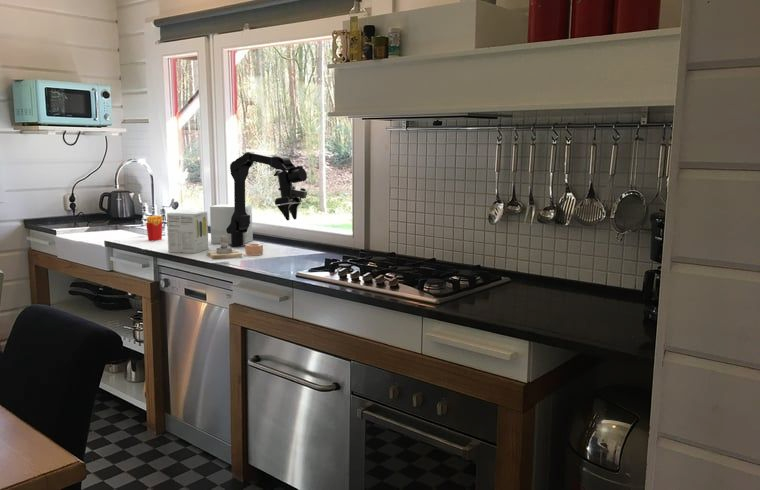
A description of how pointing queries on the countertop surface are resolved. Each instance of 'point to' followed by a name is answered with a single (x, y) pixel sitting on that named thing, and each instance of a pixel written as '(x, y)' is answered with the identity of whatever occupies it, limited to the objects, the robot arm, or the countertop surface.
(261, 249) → the ring
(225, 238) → the post stand
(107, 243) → the countertop surface
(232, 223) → the robot arm
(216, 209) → the supplement box
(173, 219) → the supplement box
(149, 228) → the french fries
